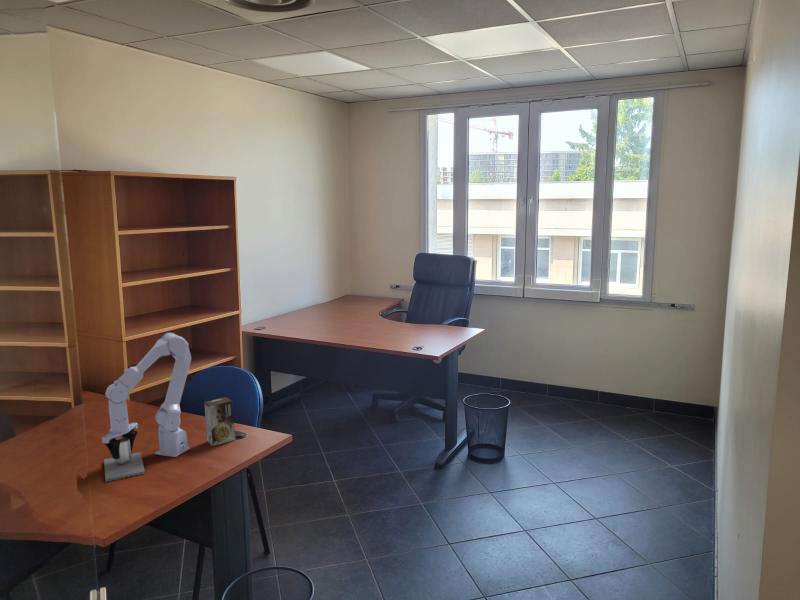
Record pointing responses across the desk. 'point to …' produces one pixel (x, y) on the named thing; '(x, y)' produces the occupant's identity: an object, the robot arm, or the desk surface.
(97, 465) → the desk surface
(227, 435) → the coffee box
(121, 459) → the collar
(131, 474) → the duct board
